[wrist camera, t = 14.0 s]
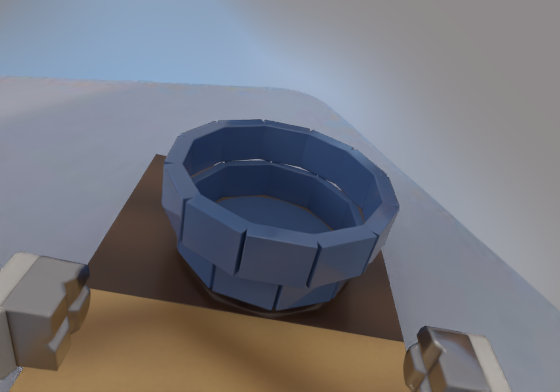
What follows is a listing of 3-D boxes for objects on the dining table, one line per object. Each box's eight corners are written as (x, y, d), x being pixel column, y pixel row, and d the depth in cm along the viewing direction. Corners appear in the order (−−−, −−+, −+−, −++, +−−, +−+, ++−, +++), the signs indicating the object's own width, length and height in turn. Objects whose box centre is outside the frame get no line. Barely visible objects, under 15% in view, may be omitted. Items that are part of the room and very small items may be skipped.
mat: (401, 346, 24) (404, 342, 24) (74, 290, 22) (74, 285, 22) (366, 199, 36) (368, 195, 36) (155, 158, 35) (156, 153, 35)
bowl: (113, 247, 25) (112, 159, 22) (244, 172, 35) (256, 104, 32) (304, 377, 20) (339, 289, 17) (391, 247, 31) (423, 177, 27)
